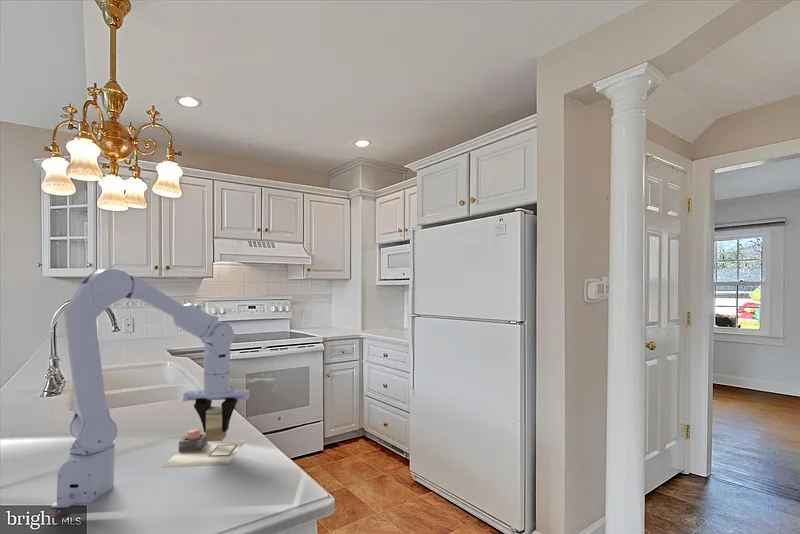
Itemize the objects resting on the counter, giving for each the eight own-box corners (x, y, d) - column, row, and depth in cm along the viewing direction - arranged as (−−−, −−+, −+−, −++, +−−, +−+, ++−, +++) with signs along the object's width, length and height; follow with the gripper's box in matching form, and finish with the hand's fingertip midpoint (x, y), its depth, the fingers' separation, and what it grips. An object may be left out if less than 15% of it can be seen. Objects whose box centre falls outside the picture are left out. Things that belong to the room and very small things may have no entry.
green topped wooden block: (221, 440, 101) (222, 410, 101) (205, 441, 101) (205, 410, 101) (226, 435, 105) (226, 406, 105) (210, 436, 104) (211, 406, 105)
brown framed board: (230, 470, 96) (230, 456, 96) (153, 473, 94) (154, 459, 94) (250, 441, 114) (250, 429, 114) (186, 442, 112) (186, 431, 112)
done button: (197, 443, 106) (197, 432, 106) (184, 444, 106) (185, 433, 106) (202, 439, 109) (202, 428, 109) (189, 439, 109) (189, 429, 109)
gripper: (252, 368, 108) (252, 424, 107) (191, 369, 107) (190, 426, 106) (245, 374, 101) (244, 434, 100) (179, 375, 100) (178, 436, 99)
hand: (216, 430), depth 103 cm, fingers closed on green topped wooden block, 4 cm apart
